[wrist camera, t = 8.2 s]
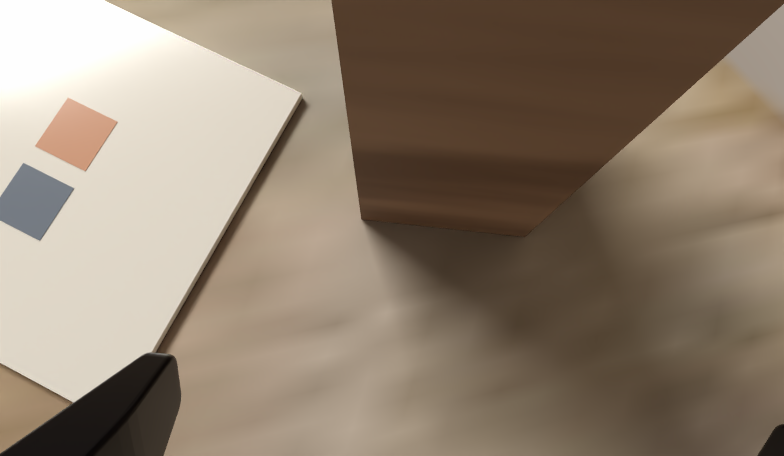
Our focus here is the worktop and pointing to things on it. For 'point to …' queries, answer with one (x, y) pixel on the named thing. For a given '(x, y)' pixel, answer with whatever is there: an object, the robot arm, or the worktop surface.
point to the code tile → (114, 181)
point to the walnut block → (512, 96)
